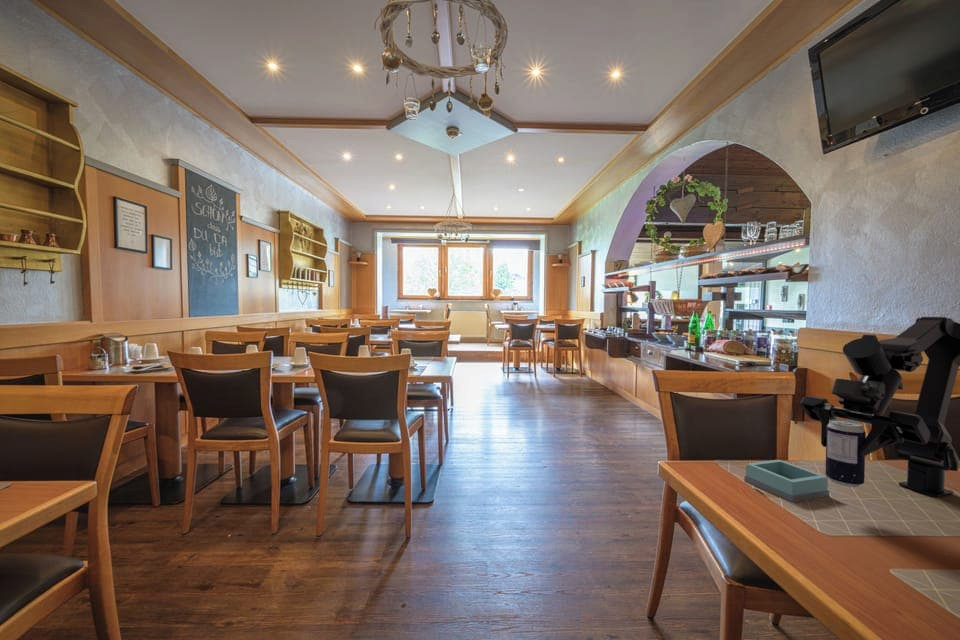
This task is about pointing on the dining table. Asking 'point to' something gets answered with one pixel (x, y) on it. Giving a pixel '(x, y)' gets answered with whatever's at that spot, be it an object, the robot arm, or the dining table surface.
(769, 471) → the can dock
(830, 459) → the beverage can
